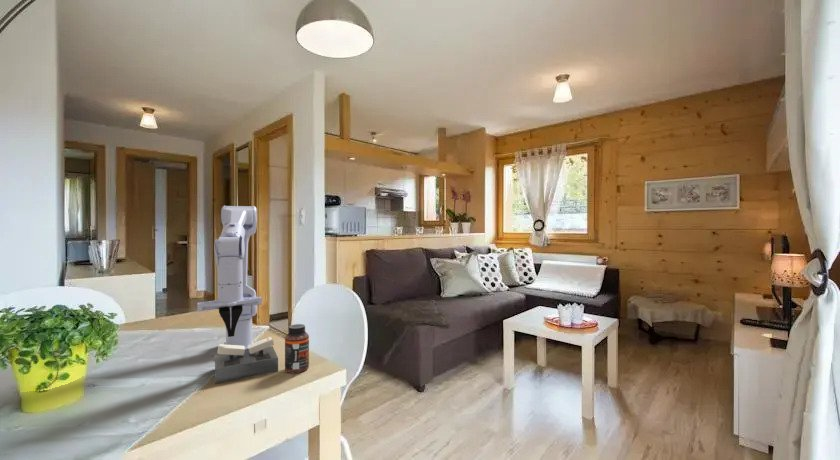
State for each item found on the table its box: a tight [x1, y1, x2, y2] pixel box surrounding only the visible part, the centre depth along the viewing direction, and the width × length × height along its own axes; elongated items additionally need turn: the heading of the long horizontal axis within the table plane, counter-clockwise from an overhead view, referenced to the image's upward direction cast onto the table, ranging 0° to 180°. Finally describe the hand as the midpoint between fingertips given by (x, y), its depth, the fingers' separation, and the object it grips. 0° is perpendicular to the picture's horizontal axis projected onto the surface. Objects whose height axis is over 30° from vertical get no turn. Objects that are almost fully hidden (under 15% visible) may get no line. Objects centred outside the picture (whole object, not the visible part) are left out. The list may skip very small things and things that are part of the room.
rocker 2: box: [247, 335, 275, 354], centre depth 95 cm, size 3×6×2 cm, turn 120°
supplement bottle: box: [284, 323, 310, 374], centre depth 92 cm, size 6×6×11 cm
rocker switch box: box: [214, 345, 279, 385], centre depth 92 cm, size 10×14×4 cm
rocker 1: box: [217, 343, 246, 355], centre depth 92 cm, size 3×6×2 cm, turn 120°
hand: (231, 335), depth 92 cm, fingers closed
